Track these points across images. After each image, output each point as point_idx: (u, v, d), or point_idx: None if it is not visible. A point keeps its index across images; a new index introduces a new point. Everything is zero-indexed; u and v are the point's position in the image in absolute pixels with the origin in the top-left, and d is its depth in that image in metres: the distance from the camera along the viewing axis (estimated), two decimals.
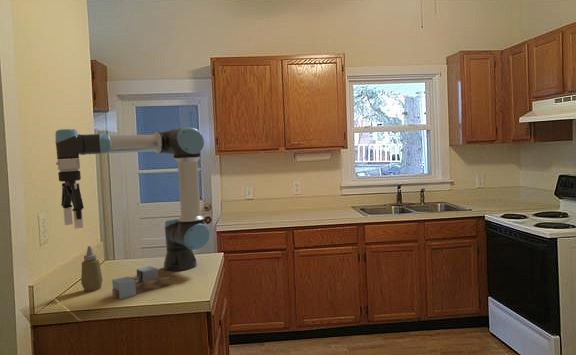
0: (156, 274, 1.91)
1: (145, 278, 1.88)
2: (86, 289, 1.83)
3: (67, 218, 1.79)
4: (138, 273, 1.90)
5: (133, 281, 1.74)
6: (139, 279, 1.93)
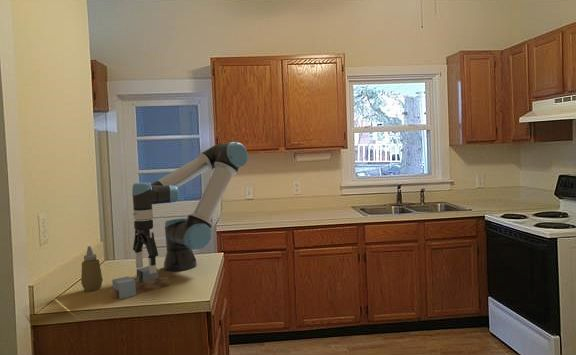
0: (156, 274, 1.91)
1: (145, 278, 1.88)
2: (86, 289, 1.83)
3: (138, 261, 1.97)
4: (138, 273, 1.90)
5: (133, 281, 1.74)
6: (139, 279, 1.93)
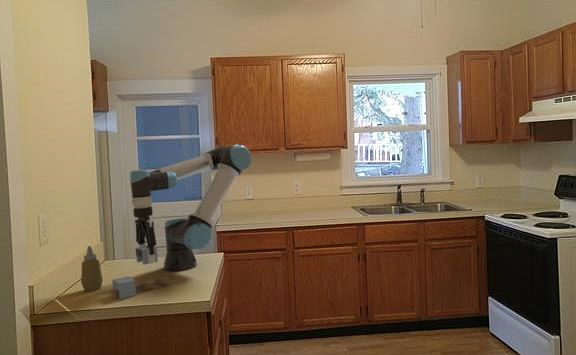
0: (155, 253, 1.91)
1: (144, 256, 1.88)
2: (86, 289, 1.83)
3: None
4: (137, 252, 1.90)
5: (133, 281, 1.74)
6: (138, 258, 1.93)
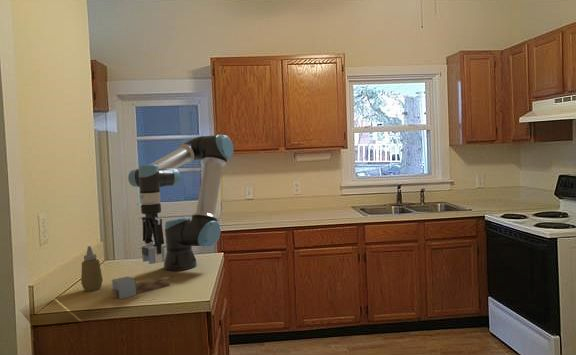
0: (162, 252, 1.81)
1: (151, 255, 1.78)
2: (86, 289, 1.83)
3: None
4: (143, 250, 1.80)
5: (133, 281, 1.74)
6: (144, 257, 1.83)
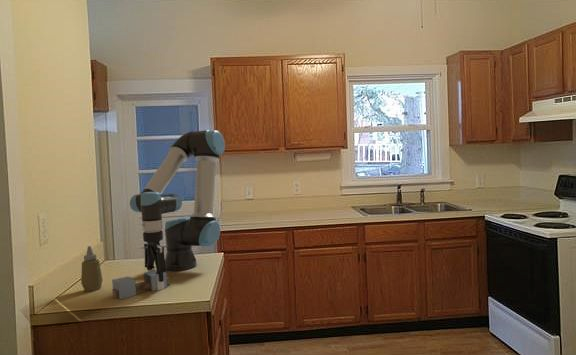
0: (164, 278, 1.82)
1: (153, 283, 1.79)
2: (86, 289, 1.83)
3: None
4: (145, 277, 1.81)
5: (133, 281, 1.74)
6: None
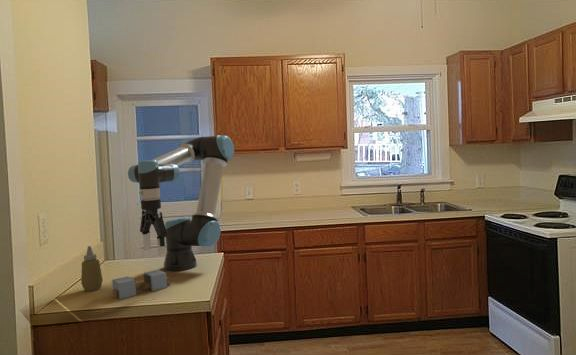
0: (164, 278, 1.82)
1: (153, 283, 1.79)
2: (86, 289, 1.83)
3: (146, 243, 1.88)
4: (145, 277, 1.81)
5: (133, 281, 1.74)
6: None
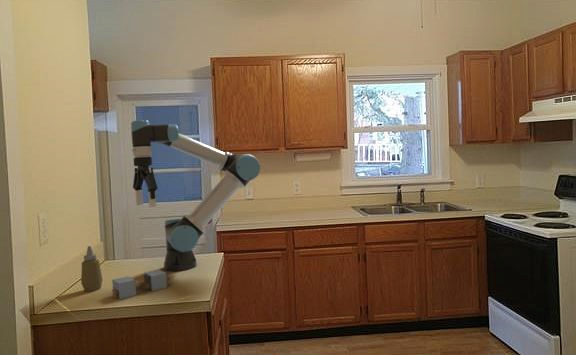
0: (164, 278, 1.82)
1: (153, 283, 1.79)
2: (86, 289, 1.83)
3: (138, 199, 2.03)
4: (145, 277, 1.81)
5: (133, 281, 1.74)
6: None
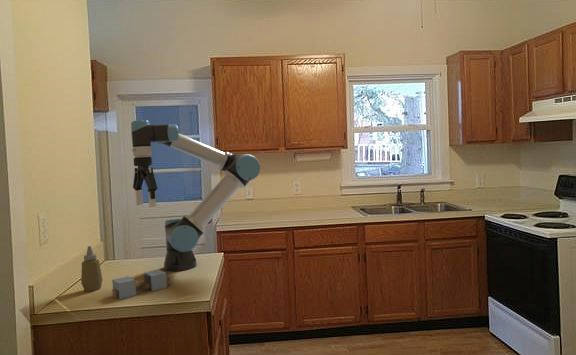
0: (164, 278, 1.82)
1: (153, 283, 1.79)
2: (86, 289, 1.83)
3: (138, 199, 2.03)
4: (145, 277, 1.81)
5: (133, 281, 1.74)
6: None
